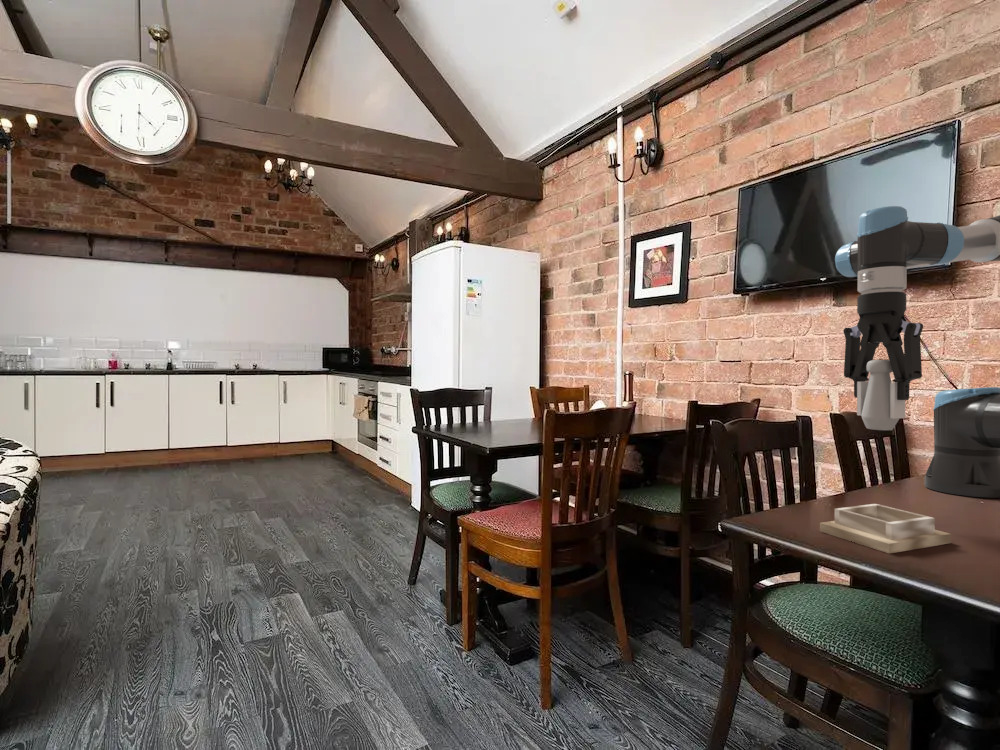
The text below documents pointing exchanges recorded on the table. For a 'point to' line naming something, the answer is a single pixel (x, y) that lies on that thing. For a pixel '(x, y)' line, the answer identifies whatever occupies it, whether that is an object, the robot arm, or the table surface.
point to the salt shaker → (878, 397)
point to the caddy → (885, 528)
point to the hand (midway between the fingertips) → (880, 416)
